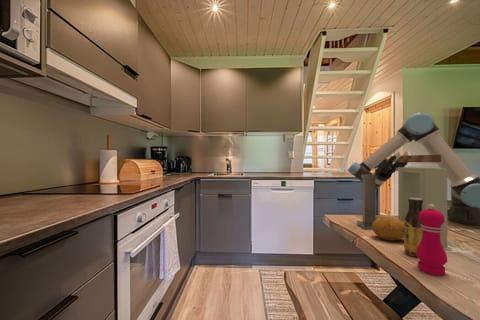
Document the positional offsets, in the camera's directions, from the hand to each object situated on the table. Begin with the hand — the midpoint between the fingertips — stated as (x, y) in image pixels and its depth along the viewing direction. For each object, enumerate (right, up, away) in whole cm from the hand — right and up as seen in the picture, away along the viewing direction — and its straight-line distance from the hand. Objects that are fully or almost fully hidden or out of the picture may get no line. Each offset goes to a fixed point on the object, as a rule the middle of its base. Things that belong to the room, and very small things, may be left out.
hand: (404, 153), depth 107 cm
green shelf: (-1, -37, -10) cm, 38 cm away
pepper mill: (-20, -37, -39) cm, 57 cm away
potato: (-15, -37, -12) cm, 41 cm away
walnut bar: (0, -4, -5) cm, 7 cm away
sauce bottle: (-16, -37, -27) cm, 48 cm away
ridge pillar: (-14, -37, +6) cm, 39 cm away
